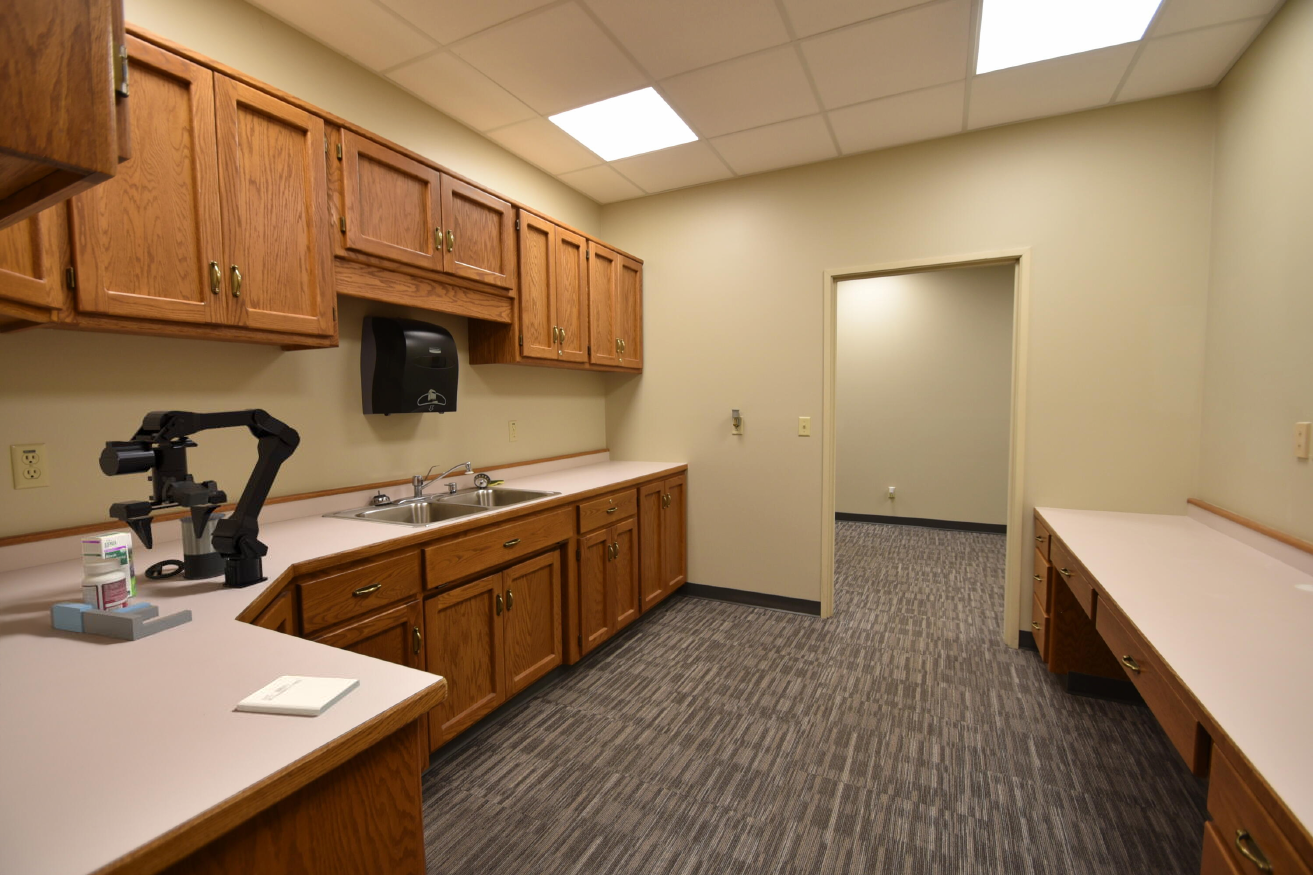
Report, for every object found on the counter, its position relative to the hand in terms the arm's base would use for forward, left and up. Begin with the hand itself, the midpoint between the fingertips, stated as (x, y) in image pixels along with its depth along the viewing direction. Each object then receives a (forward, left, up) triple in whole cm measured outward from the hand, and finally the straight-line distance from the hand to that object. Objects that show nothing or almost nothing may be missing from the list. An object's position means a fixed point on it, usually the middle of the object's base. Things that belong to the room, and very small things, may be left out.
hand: (175, 543), depth 117 cm
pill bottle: (+10, -5, -13) cm, 17 cm away
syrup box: (+2, -18, -13) cm, 22 cm away
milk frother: (-15, -20, -13) cm, 28 cm away
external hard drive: (+22, +60, -14) cm, 66 cm away
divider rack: (+10, +1, -13) cm, 16 cm away
